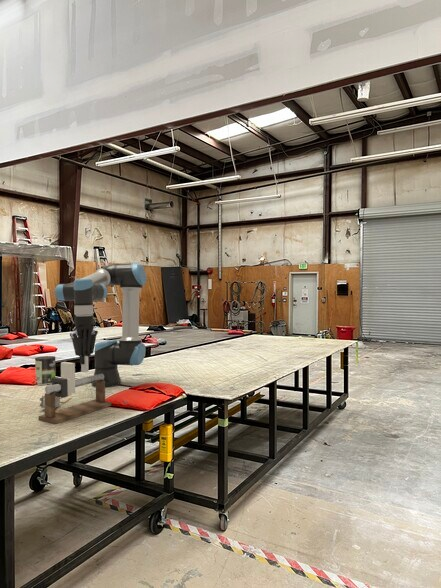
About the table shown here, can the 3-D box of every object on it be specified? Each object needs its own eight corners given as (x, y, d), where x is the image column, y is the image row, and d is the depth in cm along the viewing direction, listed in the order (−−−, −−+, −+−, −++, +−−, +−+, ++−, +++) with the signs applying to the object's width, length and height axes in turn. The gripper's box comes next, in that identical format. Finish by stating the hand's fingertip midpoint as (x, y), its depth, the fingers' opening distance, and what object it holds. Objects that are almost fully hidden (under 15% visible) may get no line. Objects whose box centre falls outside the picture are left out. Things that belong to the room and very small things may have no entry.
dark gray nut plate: (56, 394, 160) (55, 377, 160) (67, 396, 156) (67, 378, 156) (52, 395, 158) (51, 377, 158) (63, 397, 155) (63, 379, 155)
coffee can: (58, 380, 224) (58, 355, 224) (50, 385, 214) (50, 358, 214) (40, 381, 225) (40, 356, 225) (31, 385, 214) (31, 359, 214)
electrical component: (61, 404, 190) (62, 393, 191) (74, 403, 190) (74, 392, 191) (38, 408, 166) (39, 396, 167) (53, 408, 166) (54, 395, 167)
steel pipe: (99, 380, 177) (99, 372, 177) (104, 381, 175) (104, 373, 175) (44, 394, 154) (44, 385, 154) (50, 395, 152) (50, 386, 152)
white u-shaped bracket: (65, 391, 163) (65, 361, 163) (75, 393, 160) (74, 363, 160) (56, 393, 160) (56, 363, 160) (66, 395, 157) (66, 364, 157)
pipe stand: (95, 402, 179) (95, 379, 179) (111, 405, 174) (111, 381, 174) (38, 419, 155) (38, 392, 155) (55, 424, 150) (54, 396, 150)
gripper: (90, 314, 175) (91, 368, 176) (64, 316, 164) (65, 373, 165) (102, 314, 171) (103, 369, 172) (77, 316, 160) (78, 375, 161)
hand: (84, 371), depth 168 cm, fingers closed
